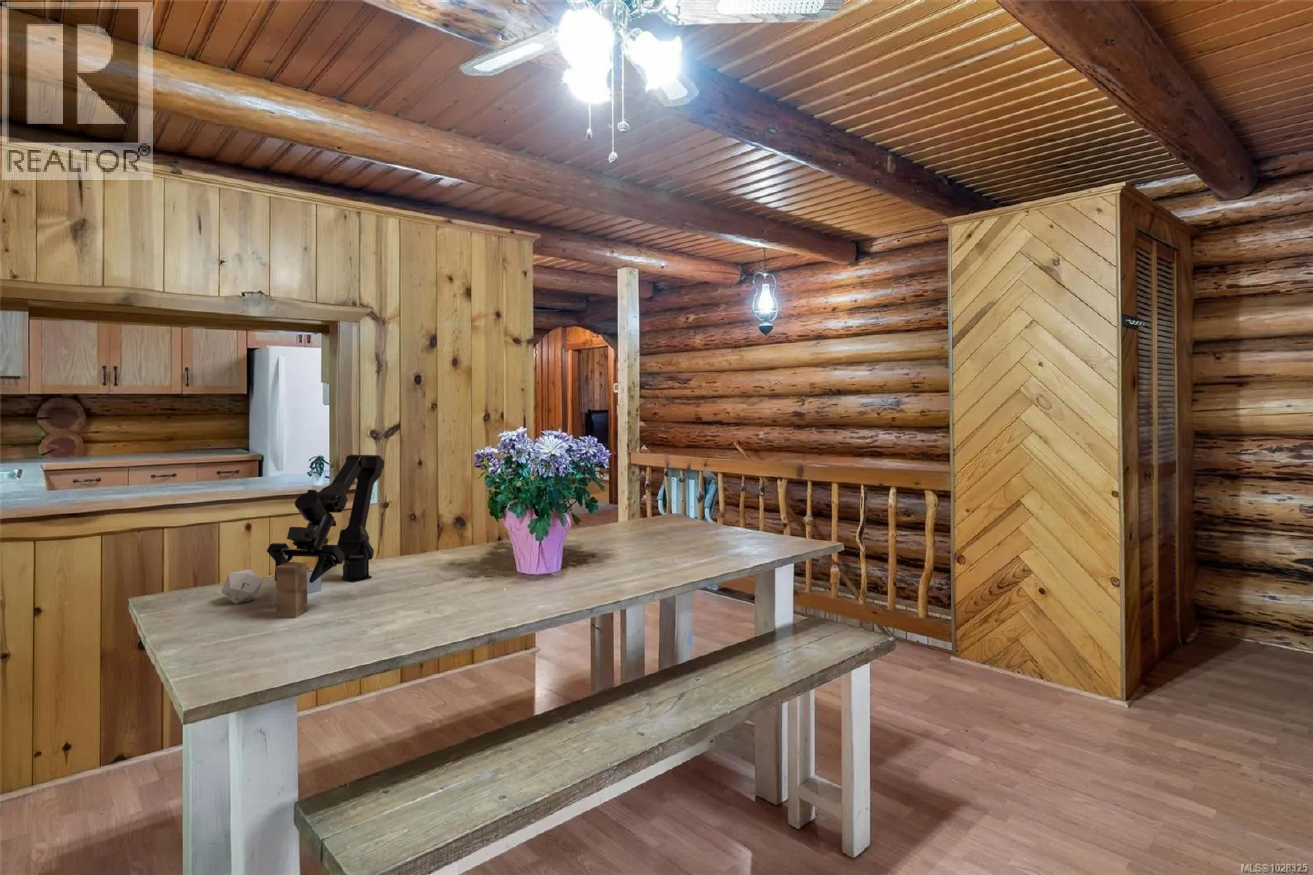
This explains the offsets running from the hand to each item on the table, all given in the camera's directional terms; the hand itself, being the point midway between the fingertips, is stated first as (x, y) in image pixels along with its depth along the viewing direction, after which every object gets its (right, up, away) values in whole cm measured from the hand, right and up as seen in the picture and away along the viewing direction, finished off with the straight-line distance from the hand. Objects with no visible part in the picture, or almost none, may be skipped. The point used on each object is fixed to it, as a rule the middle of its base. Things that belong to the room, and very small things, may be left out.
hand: (293, 581), depth 172 cm
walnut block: (0, -8, 0) cm, 8 cm away
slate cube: (-6, -7, +19) cm, 22 cm away
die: (-19, -8, +10) cm, 23 cm away
